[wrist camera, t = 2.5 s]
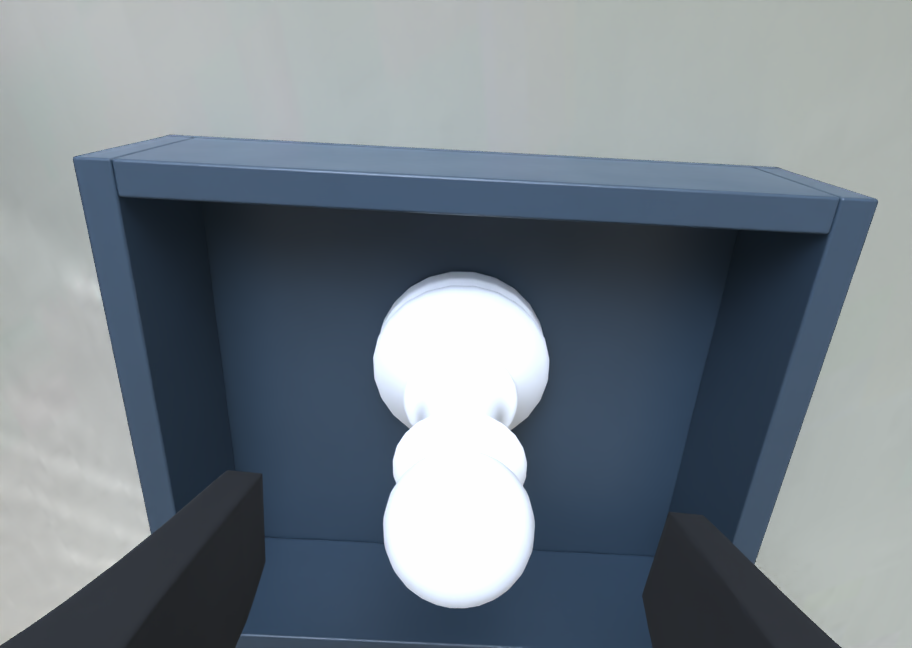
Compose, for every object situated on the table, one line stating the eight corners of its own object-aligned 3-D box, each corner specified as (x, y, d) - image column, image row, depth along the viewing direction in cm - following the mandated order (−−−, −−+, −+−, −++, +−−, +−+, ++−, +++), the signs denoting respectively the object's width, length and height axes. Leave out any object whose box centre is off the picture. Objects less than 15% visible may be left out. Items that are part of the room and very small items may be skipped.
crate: (227, 544, 22) (174, 650, 18) (168, 134, 16) (71, 156, 12) (671, 566, 22) (717, 676, 18) (777, 166, 16) (880, 199, 12)
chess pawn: (366, 278, 17) (273, 475, 9) (537, 259, 17) (608, 444, 8) (394, 423, 19) (340, 693, 11) (548, 407, 19) (613, 675, 10)
